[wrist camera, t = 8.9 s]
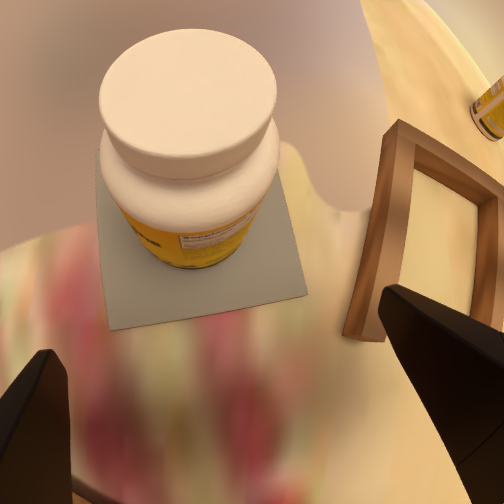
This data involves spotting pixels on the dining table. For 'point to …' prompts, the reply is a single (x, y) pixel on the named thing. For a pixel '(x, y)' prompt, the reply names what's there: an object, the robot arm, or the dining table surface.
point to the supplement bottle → (490, 111)
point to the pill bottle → (189, 143)
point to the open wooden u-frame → (396, 221)
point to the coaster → (201, 281)
